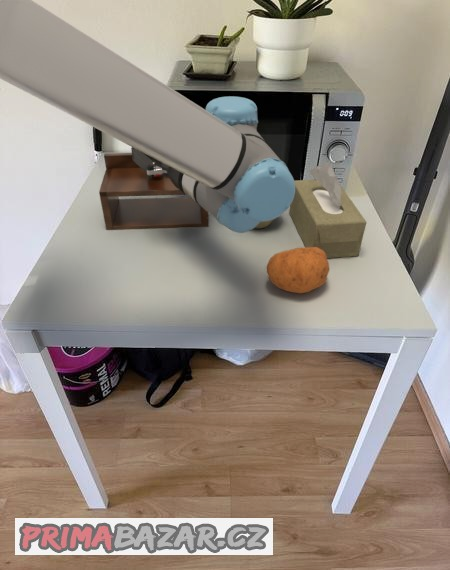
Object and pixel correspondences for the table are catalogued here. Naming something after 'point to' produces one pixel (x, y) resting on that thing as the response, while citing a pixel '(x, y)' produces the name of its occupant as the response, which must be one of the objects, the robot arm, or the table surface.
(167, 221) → the shelf
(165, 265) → the table surface
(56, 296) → the table surface
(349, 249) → the tissue box
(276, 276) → the potato
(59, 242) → the table surface
